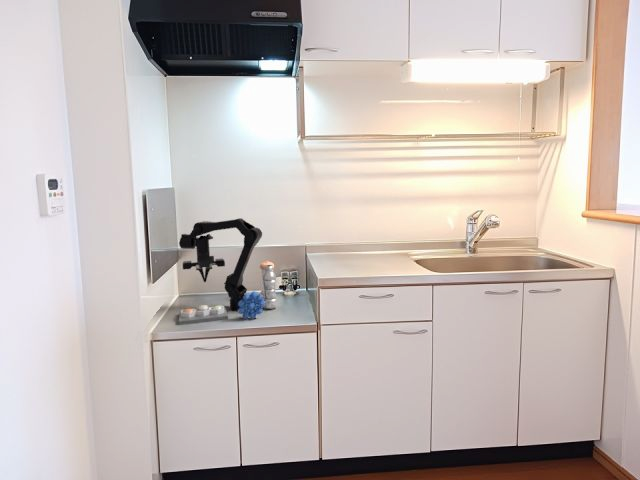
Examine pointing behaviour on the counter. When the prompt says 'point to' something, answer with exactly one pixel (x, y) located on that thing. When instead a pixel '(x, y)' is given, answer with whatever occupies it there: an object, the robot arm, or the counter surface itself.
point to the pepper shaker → (263, 273)
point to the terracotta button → (188, 310)
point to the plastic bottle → (269, 287)
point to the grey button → (202, 308)
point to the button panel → (202, 316)
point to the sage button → (216, 307)
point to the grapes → (251, 305)
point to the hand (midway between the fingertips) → (204, 281)
